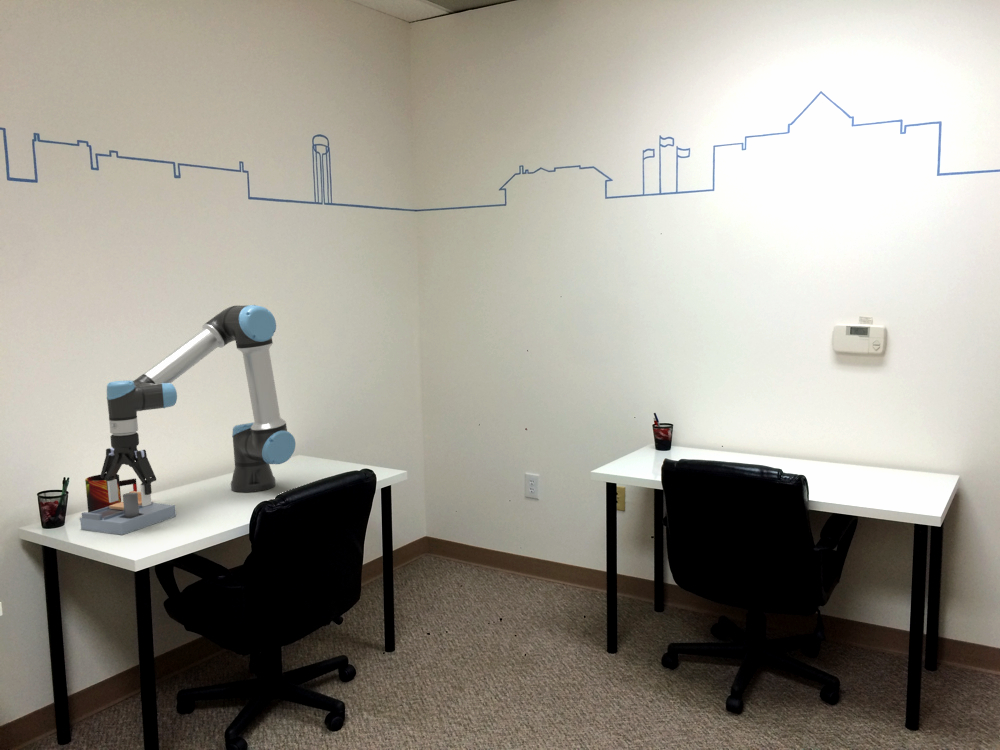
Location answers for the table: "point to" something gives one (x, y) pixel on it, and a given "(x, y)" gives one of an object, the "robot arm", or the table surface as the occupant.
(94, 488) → the mug
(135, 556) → the table surface
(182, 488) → the table surface
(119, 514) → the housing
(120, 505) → the lid
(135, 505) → the pin
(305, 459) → the table surface
